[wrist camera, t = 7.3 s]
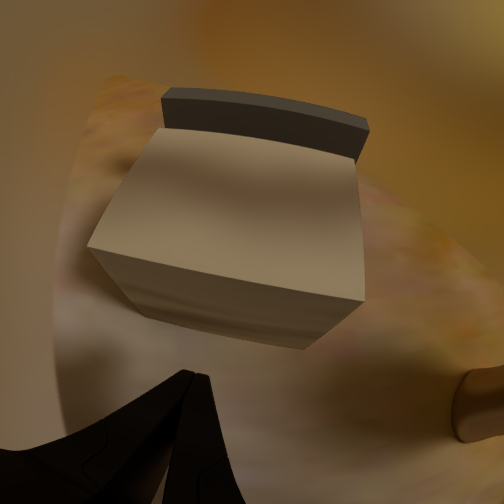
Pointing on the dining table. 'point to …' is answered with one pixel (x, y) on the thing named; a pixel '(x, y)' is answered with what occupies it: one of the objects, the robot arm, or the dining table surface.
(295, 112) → the backstop board
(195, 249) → the maple block
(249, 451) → the dining table surface
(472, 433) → the beer glass
